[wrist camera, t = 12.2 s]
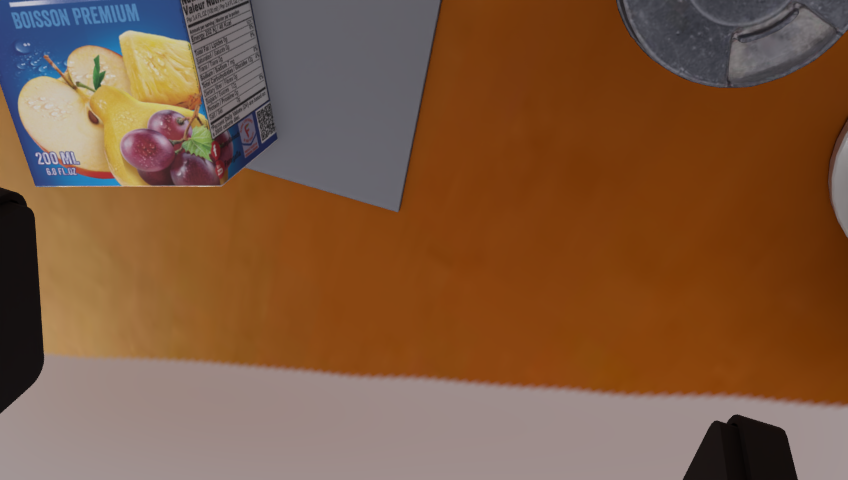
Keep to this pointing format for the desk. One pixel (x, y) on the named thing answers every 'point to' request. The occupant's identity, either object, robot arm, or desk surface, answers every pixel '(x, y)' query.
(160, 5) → the juice carton
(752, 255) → the desk surface
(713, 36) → the camera lens
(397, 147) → the mat
